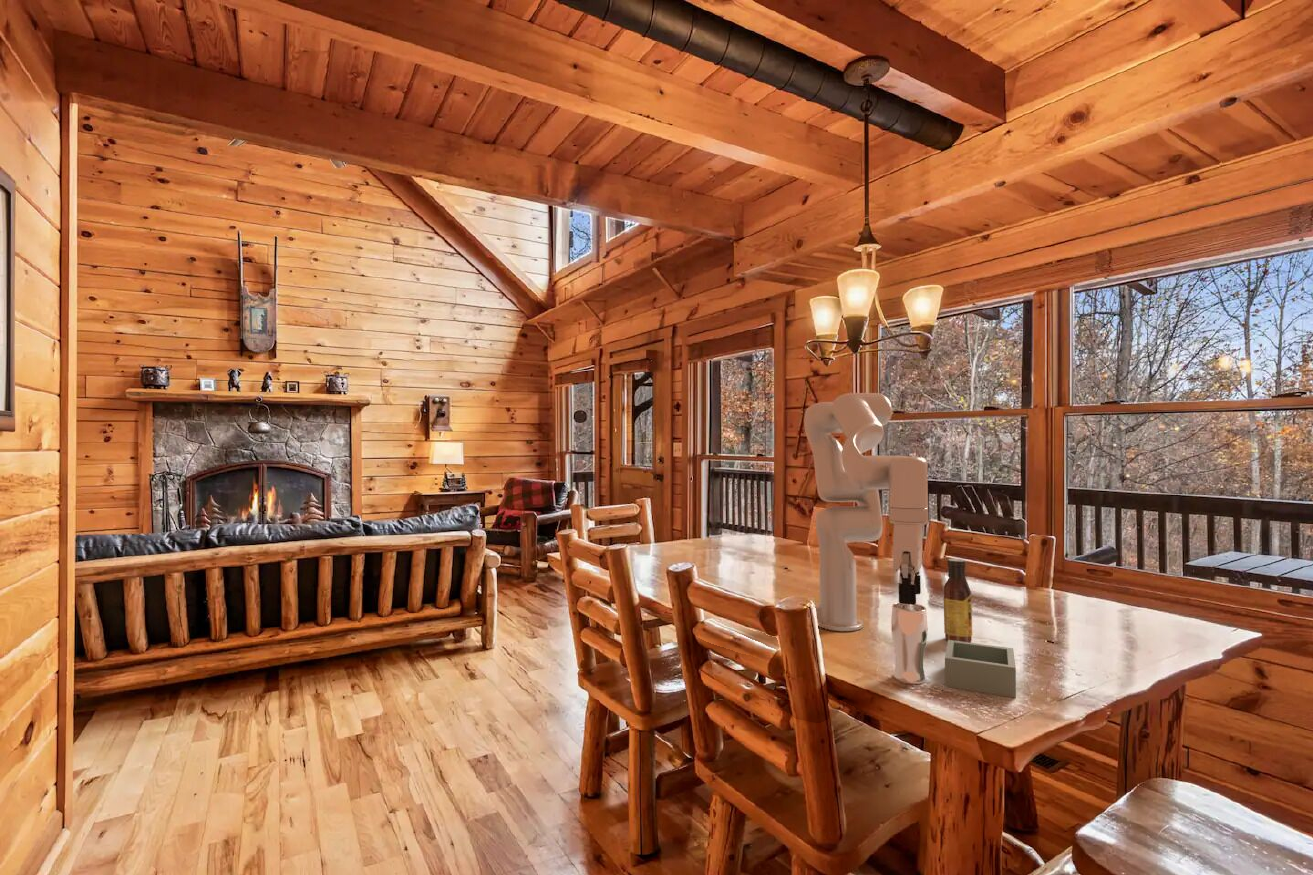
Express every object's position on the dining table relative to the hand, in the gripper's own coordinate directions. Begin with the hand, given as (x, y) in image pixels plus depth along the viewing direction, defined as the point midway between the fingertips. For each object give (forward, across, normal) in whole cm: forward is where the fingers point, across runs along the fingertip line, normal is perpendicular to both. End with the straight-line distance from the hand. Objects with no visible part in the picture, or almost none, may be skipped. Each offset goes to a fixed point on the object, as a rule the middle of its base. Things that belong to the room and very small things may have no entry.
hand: (910, 598), depth 130 cm
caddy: (+17, -6, +12) cm, 22 cm away
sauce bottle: (+17, -32, +8) cm, 37 cm away
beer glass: (+17, -1, 0) cm, 17 cm away
